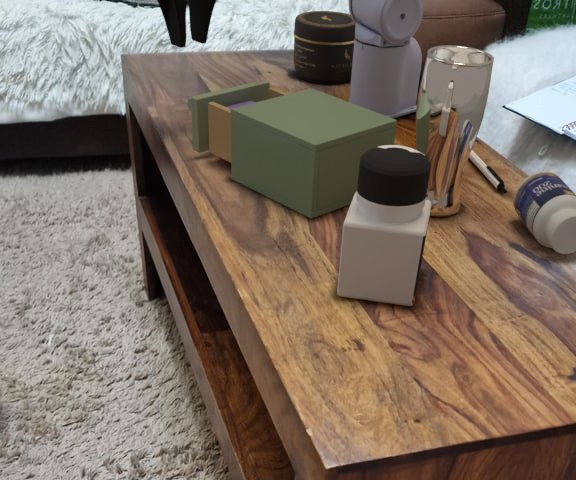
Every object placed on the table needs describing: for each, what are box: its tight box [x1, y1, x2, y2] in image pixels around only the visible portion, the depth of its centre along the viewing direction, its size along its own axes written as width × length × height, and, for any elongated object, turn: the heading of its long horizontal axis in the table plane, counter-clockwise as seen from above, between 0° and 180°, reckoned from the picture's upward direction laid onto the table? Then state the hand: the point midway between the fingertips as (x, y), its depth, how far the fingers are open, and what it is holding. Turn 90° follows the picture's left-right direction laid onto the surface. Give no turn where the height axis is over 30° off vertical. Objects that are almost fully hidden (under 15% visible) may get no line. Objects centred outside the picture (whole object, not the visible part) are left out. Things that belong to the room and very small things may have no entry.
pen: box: [468, 149, 508, 194], centre depth 95 cm, size 1×19×1 cm, turn 11°
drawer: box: [186, 79, 290, 164], centre depth 92 cm, size 17×11×6 cm
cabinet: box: [230, 87, 398, 220], centre depth 86 cm, size 13×12×8 cm
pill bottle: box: [513, 170, 576, 255], centre depth 79 cm, size 5×5×10 cm
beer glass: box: [414, 44, 495, 218], centre depth 81 cm, size 7×7×15 cm
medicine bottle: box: [336, 144, 431, 307], centre depth 69 cm, size 7×7×12 cm
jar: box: [293, 10, 356, 85], centre depth 116 cm, size 10×10×8 cm
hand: (188, 43), depth 93 cm, fingers open, 3 cm apart
